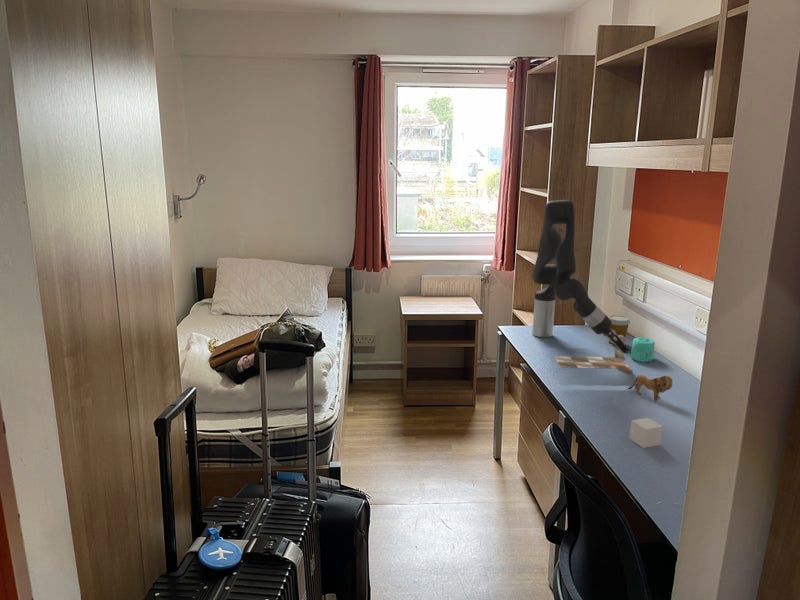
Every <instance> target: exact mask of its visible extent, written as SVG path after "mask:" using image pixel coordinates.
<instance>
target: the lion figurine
mask: <svg viewBox="0 0 800 600" xmlns="http://www.w3.org/2000/svg"><path fill="white" fill-rule="evenodd" d="M642 386H644V388H646V389H647V390H650V391H653V401H655V402H658V401H659V399H661V397H660V396H659V394H660V393H661V394H663V393H665V392H666V391H669V390H670V389H671V388H672V387H673V378H672V377H671V376H670V375H663V376H659V377H655V378H654V379H653V378H652V379H651V378H649V377H647V376H646V375H642V374H640V375H637V376H636V377H635V379H634V382H633V383H632V385H631V386H629V387H627V389H628V390H632V389H633V387H634V391H636V394H637V396H641V395H642V393H641V392H640V389H641V387H642Z"/></svg>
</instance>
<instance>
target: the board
mask: <svg viewBox="0 0 800 600" xmlns="http://www.w3.org/2000/svg"><path fill="white" fill-rule="evenodd" d="M553 358H554V359H555V360H556V362H557V363H558V365H559V366H560V368H562V369H621V370H622V371H624V372H625V373H626V374H633V369H632V368H631V367H630V366H629V365H628V364H627V363H626V362H625V361H624V362H617V361H614V360H612V356H559V355H558V356H556V355H555V356H553Z"/></svg>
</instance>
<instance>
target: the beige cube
mask: <svg viewBox="0 0 800 600" xmlns="http://www.w3.org/2000/svg"><path fill="white" fill-rule="evenodd" d="M662 434H663V425H661V424H659V422H656V421H655V420H653V419H651V418H649V417H645V418H639V419H632V420H631V423H630V430H629V440H631V441H632V442H634V443H635V444H636V445H638V446H640V447H641V448H643V449H646V448H651V447H656V446H657V447H658V446H661V443H662Z"/></svg>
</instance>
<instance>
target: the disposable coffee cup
mask: <svg viewBox="0 0 800 600" xmlns="http://www.w3.org/2000/svg"><path fill="white" fill-rule="evenodd" d="M607 317H608V318H609V319H610V320H611V321H612V324H611V326H610V327H611V328H612V329H613V330H614V331H615V333H616V334H617V335H623V336H624V337H625V338H627V337H626V336H627V333H628V329H629V325H630V323H631V321H630V318H629V317H628V316H625V315H617V314H615V315H614V314H612V315H609V316H607ZM608 344H609V345H610V344H612V345H611V346H614V345H615V343H614V344H613V343H612V342H611V341H610V340H609V339H608Z"/></svg>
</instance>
